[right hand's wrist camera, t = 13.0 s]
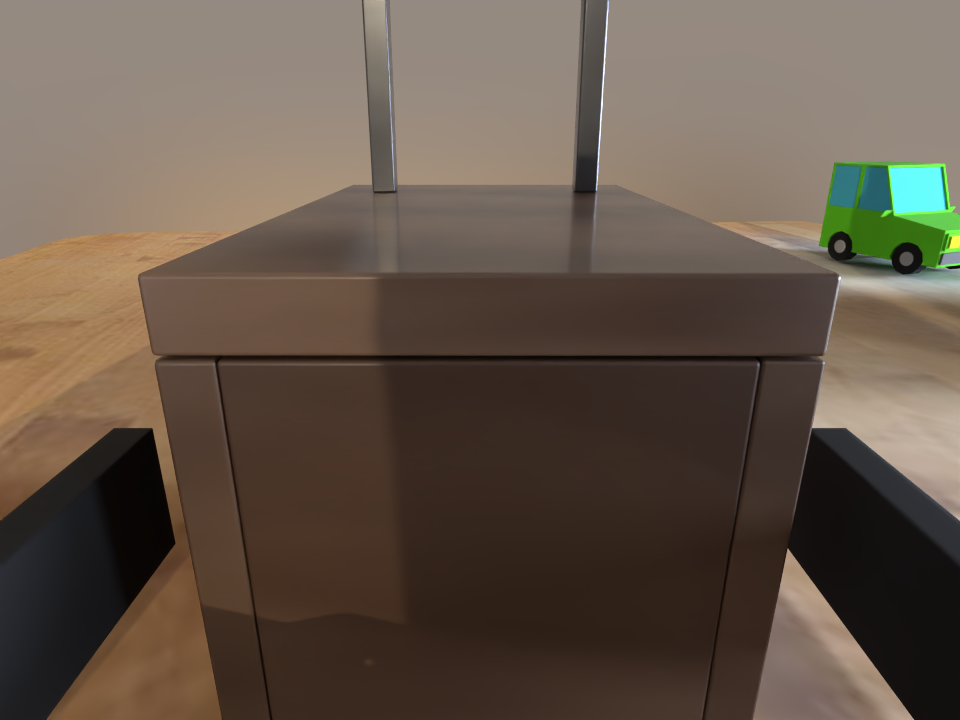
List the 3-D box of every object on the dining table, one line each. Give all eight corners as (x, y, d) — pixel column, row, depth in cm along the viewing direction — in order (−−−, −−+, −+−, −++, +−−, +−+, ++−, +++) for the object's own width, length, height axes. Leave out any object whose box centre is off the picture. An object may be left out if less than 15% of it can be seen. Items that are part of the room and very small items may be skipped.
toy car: (927, 282, 58) (956, 169, 54) (809, 257, 70) (827, 162, 66) (999, 274, 61) (1030, 167, 58) (876, 251, 73) (895, 161, 70)
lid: (354, 218, 23) (334, -69, 20) (615, 218, 23) (636, -69, 20) (150, 357, 9) (-24, -554, 6) (827, 357, 9) (1013, -560, 6)
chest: (367, 482, 25) (349, 223, 22) (600, 482, 25) (620, 223, 22) (246, 854, 12) (150, 360, 9) (726, 856, 12) (826, 361, 9)
